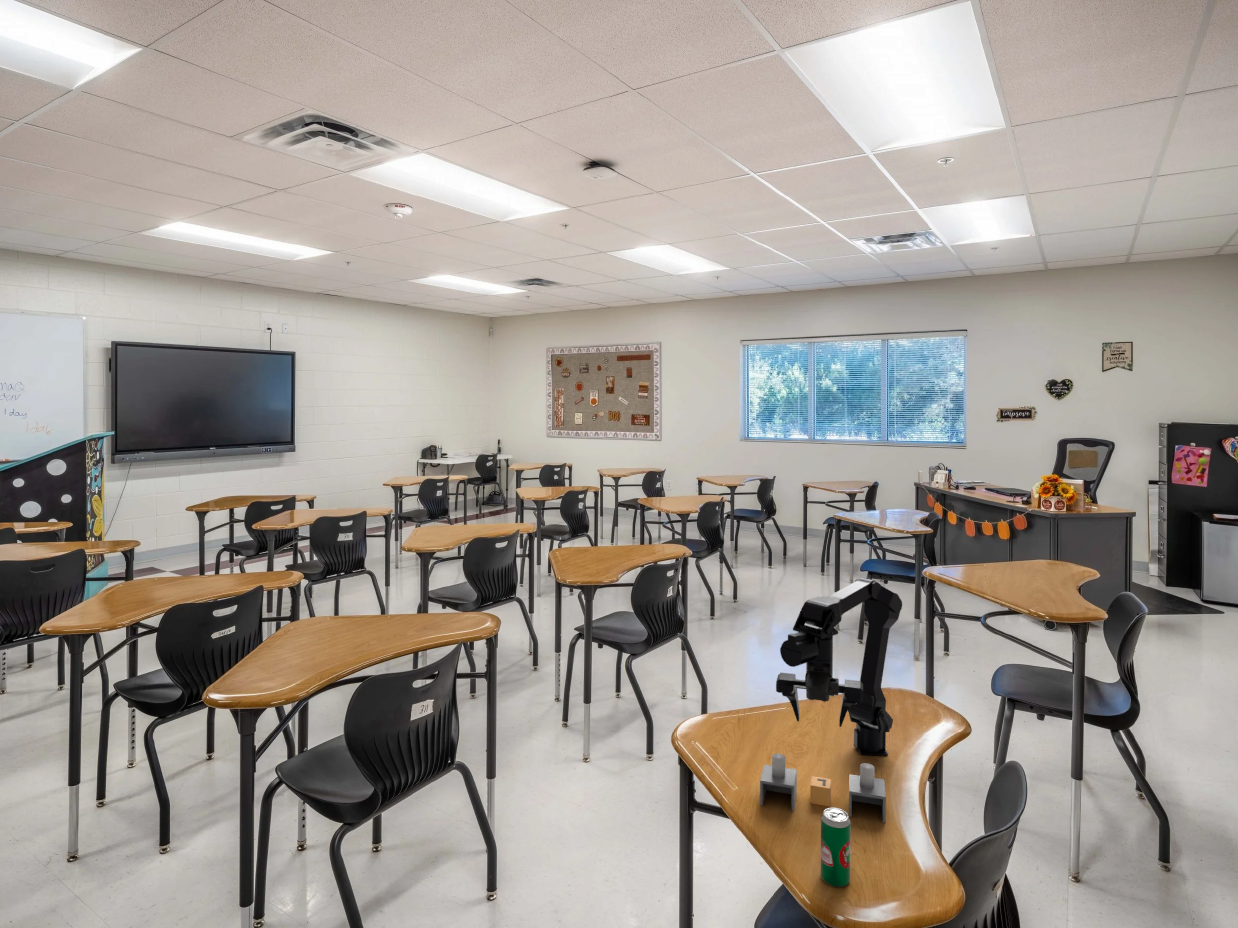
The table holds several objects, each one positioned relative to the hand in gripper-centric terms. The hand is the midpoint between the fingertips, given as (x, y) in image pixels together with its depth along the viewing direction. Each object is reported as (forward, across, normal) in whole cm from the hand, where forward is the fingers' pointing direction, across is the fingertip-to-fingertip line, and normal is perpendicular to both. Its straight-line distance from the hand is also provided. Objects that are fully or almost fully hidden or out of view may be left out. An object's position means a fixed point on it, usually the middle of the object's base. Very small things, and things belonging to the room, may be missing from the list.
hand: (819, 723), depth 155 cm
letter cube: (+13, +1, -10) cm, 16 cm away
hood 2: (+12, +10, -11) cm, 20 cm away
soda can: (+13, +4, -35) cm, 38 cm away
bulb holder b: (+12, -8, -12) cm, 19 cm away
